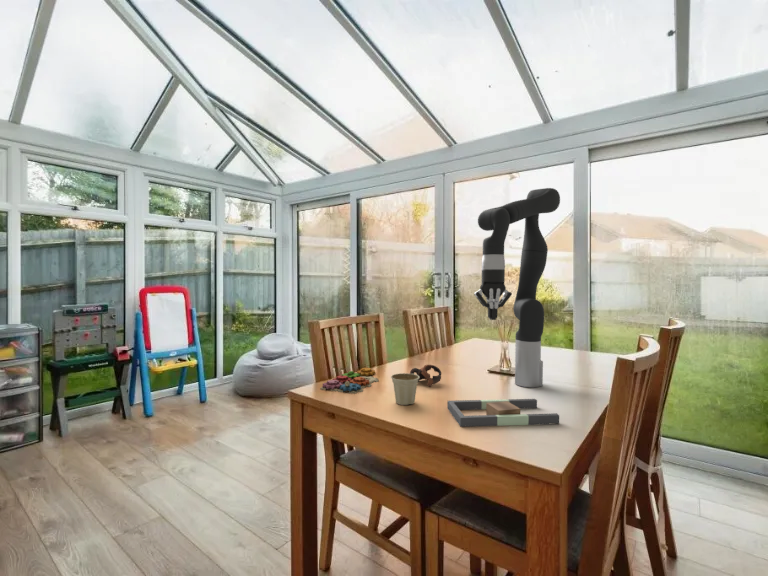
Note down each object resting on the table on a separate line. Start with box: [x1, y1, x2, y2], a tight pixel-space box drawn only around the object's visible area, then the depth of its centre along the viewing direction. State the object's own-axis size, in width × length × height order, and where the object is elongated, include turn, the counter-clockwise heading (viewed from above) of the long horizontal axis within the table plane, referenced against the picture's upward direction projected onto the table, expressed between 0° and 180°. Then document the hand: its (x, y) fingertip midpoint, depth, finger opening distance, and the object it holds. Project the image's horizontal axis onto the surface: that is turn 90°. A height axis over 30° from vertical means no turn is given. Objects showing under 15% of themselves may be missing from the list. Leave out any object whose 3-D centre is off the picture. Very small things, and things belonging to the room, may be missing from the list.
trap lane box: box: [446, 398, 560, 428], centre depth 118 cm, size 28×15×2 cm, turn 95°
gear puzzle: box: [319, 367, 379, 394], centre depth 157 cm, size 31×16×4 cm, turn 158°
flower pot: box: [390, 372, 420, 406], centre depth 131 cm, size 9×9×9 cm
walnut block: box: [485, 401, 521, 415], centre depth 116 cm, size 7×7×4 cm
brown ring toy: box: [409, 364, 442, 387], centre depth 153 cm, size 12×10×8 cm
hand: (492, 319), depth 134 cm, fingers closed
